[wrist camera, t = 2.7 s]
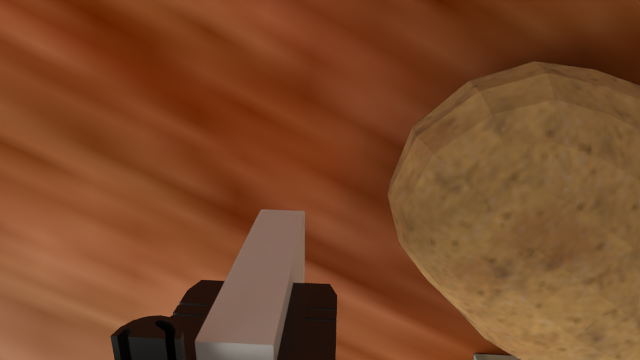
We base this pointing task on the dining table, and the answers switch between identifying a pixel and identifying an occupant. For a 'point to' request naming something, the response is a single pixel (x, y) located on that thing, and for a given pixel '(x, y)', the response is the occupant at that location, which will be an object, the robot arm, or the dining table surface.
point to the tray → (494, 357)
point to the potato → (531, 209)
